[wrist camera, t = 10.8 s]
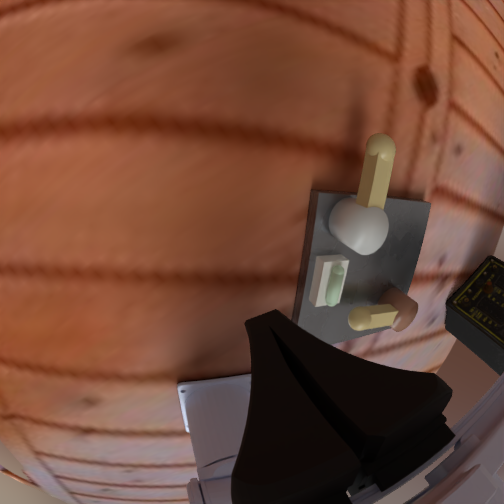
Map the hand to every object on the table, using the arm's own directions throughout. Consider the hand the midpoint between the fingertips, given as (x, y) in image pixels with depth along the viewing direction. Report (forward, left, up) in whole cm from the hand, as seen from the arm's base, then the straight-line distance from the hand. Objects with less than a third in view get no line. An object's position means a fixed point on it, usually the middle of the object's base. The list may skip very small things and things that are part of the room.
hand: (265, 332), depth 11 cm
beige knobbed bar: (-7, -15, -9) cm, 19 cm away
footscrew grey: (+5, -10, -9) cm, 14 cm away
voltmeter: (-10, -42, -11) cm, 44 cm away
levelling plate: (-4, -14, -10) cm, 18 cm away
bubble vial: (-3, -9, -9) cm, 13 cm away
